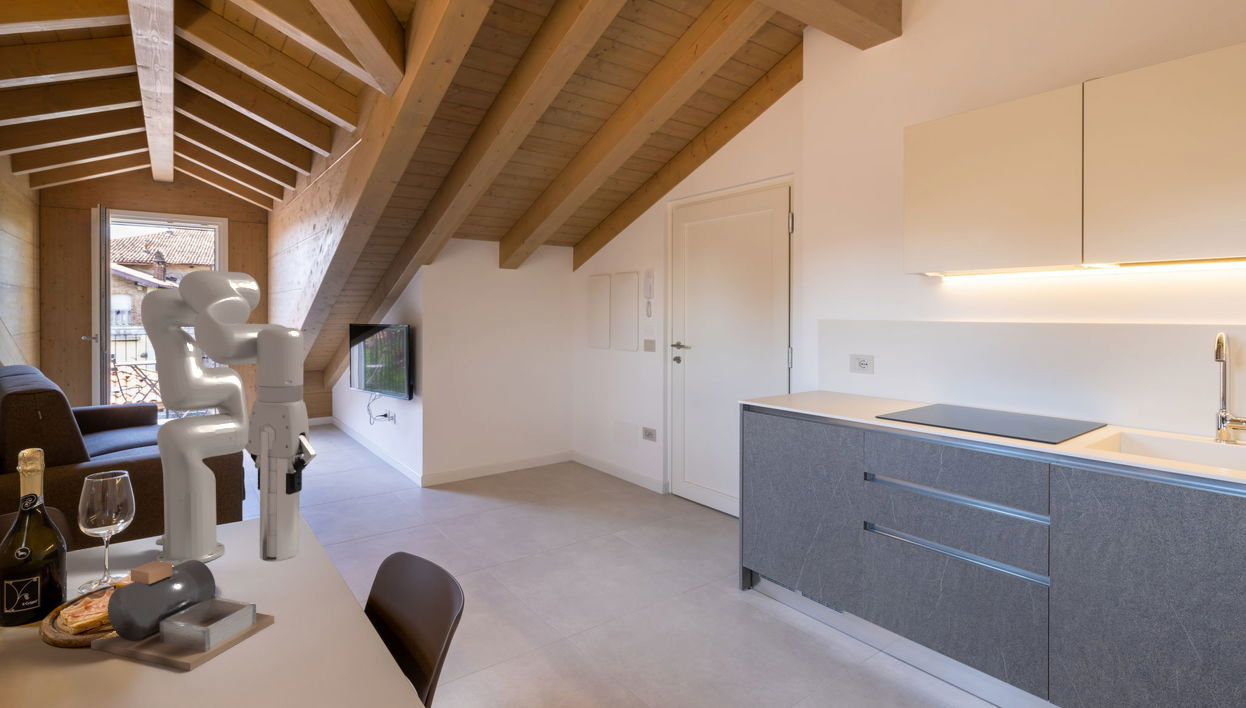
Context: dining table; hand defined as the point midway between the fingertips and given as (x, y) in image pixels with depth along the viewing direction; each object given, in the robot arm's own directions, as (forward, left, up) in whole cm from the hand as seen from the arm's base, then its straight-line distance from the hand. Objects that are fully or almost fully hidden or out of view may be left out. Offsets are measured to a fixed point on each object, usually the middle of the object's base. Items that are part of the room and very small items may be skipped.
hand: (279, 489), depth 116 cm
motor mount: (-7, -13, -23) cm, 27 cm away
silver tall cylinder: (0, 0, -13) cm, 13 cm away
